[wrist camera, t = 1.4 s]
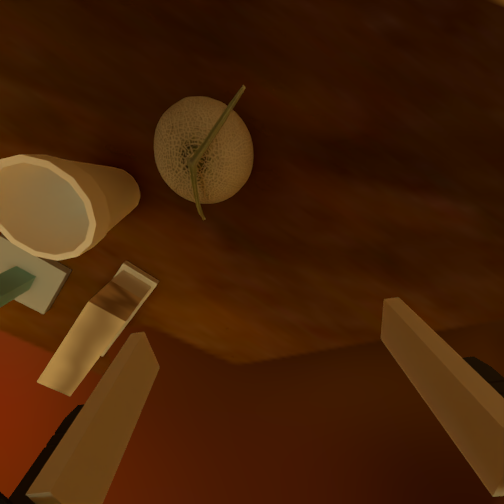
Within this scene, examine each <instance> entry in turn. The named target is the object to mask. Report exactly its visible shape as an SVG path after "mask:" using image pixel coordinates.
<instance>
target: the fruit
mask: <svg viewBox="0 0 504 504" xmlns="http://www.w3.org/2000/svg"><path fill="white" fill-rule="evenodd" d="M245 88H246V87H245V86H244V85H242V87H241V88H240V89H239V91H238V92H237V94H236V95H235V96H234V98H233V99H232V101H231V102H230V103H229V105H228V106H227V105H226V104H224V103H222V102H221V101H218V100H215V99H212V98H209V97H204V96H195V97H186V98H184V99H182V100H180V101H179V102H177V103H175V104H174V105H172V106H171V107H170V108H169V109H168V110H166V111H165V113H164V114H163V115H162V116H161V118H160V120H159V122H158V124H157V127H156V130H155V136H154V155H155V162H156V165H157V168H158V170H159V172H160V174H161V176H162V178H163V179H164V181H165V182H166V183H167V185H168V186H169V187H170V188H171V189H172V190H173V191H174V192H176V193H177V194H178V195H180V196H181V197H183V198H185V199H187V200H189V201H192V202H195V203H196V207H197V210H198V213H199V215H200V216H201V217H202V219H203V220H205V219H206V218H205V216H204V214H203V211H202V208H201V204H212V203H218V202H221V201H224V200H226V199H228V198H230V197H232V196H233V195H234V194H236V193H237V192H238V191H239V190H240V189H241V188H242V186H243V185H244V184H245V183H246V182H247V180H248V178H249V176H250V174H251V170H252V166H253V143H252V139H251V135H250V133H249V131H248V129H247V127H246V125H245V123H244V122H243V120H242V119H241V118H240V117H239V116H238V114H237V113H236V112H235V111H234V110H233V108H234V107H235V105H236V103H237V102H238V100H239V98H240V97H241V95H242V93H243V92H244V90H245ZM200 203H201V204H200Z"/></svg>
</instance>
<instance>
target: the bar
mask: <svg viewBox="0 0 504 504" xmlns="http://www.w3.org/2000/svg"><path fill="white" fill-rule="evenodd" d="M141 300H142V299H141V298H139V297H138V296H136V295H134V294H133V293H131V292H129V291H128V290H126V289H124V288H122V287H121V286H119V285H117V284H116V283H114V282H112V281H110V282H109V283H108V284H107V285H106V286H105V287H104V288H102V289H101V290H100V291H99V292H98V293H97V294H96V295H95V296H94V297H93V298H92V299H90V300H89V301H88V303H87V304H86V306H85V308H84V309H83V311H82V312H81V314H80V315H79V317H78V318H77V320H76V322H75V323H74V325H73V326H72V328H71V329H70V331H69V332H68V334H67V336H66V337H65V339H64V340H63V342H62V343H61V345H60V346H59V348H58V350H57V351H56V353H55V354H54V356H53V357H52V359H51V360H50V362H49V364H48V365H47V367H46V368H45V370H44V371H43V373H42V374H41V376H40V378H39V379H38V381H37V382H38V383H40V384H42V385H45V386H47V387H49V388H52V389H54V390H56V391H59V392H61V393H63V394H66V395H68V396H71V395H72V393H73V392H74V391H75V389H76V388H77V386H78V385H79V384H80V382H81V381H82V380H83V378H84V377H85V376H86V374H87V373H88V372H89V370H90V369H91V368H92V366H93V365H94V364H95V362H96V361H97V360H98V358H99V357H100V356H101V354H102V353H103V352H104V350H105V349H106V348H107V346H108V345H109V344H110V342H111V341H112V340H113V338H114V337H115V336H116V334H117V333H118V331H119V330H120V329H121V327H122V326H123V325H124V323H125V322H126V321H127V319H128V318H129V317H130V315H131V314H132V313H133V311H134V310H135V309H136V307H137V306H138V304H139V303H140V302H141Z"/></svg>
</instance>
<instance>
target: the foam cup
mask: <svg viewBox="0 0 504 504" xmlns="http://www.w3.org/2000/svg"><path fill="white" fill-rule="evenodd" d="M139 200H140V190H139V186H138V184H137V182H136V181H135V179H134V178H133V176H131V175H130V174H129V173H127V172H126V171H125V170H123V169H119V168H115V167H110V166H104V165H97V164H91V163H84V162H77V161H71V160H66V159H62V158H57V157H53V156H49V155H45V154H20V155H16V156H12V157H8V158H4V159H0V231H1V233H2V234H3V235H4V236H5V237H6V238H7V239H8V240H9V241H10V242H11V243H12V244H14V245H16V246H17V247H19V248H21V249H23V250H24V251H26V252H28V253H30V254H31V255H33V256H36V257H41V258H46V259H51V260H56V261H59V260H63V259H68V258H73V257H78V256H79V255H81V254H83V253H84V252H86V251H88V250H89V249H91V248H93V247H94V246H95V245H96V244H97V243H98V242H99V241H100V240H102V239H103V238H104V237H105V236H106V233H107V232H108V231H109V230H110V229H111V228H113V227H114V226H115V225H116V224H117V223H118V222H120V221H121V220H122V219H123V218H124V217H125V216H126V215H128V214H129V213H130V212H131V211H132V210H133V209H134V208H135V207H136V206H137V205H138V203H139Z"/></svg>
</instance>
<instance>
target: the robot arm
mask: <svg viewBox="0 0 504 504" xmlns="http://www.w3.org/2000/svg"><path fill="white" fill-rule="evenodd" d="M381 340H382V341H383V343H384V344H385V346H386V347H387V349H388V350H389V351H390V353H391V354H392V355H393V357H394V358H395V360H396V361H397V363H398V364H399V365H400V367H401V368H402V370H403V371H404V372H405V374H406V375H407V377H408V378H409V380H410V381H411V382H412V384H413V385H414V386H415V388H416V389H417V391H418V392H419V394H420V395H421V396H422V398H423V399H424V401H425V402H426V403H427V405H428V406H429V408H430V409H431V410H432V412H433V413H434V415H435V416H436V418H437V419H438V420H439V422H440V423H441V425H442V426H443V427H444V429H445V430H446V432H447V433H448V434H449V436H450V437H451V438H452V440H453V441H454V443H455V444H456V446H457V447H458V449H459V450H460V451H461V453H462V454H463V456H464V457H465V458H466V460H467V461H468V463H469V464H470V465H471V467H472V468H473V470H474V471H475V472H476V474H477V475H478V477H479V478H480V479H481V481H482V482H483V484H484V485H485V486H486V488H487V489H488V491H489V492H490V494H491V495H492V496H493V497H494V496H504V378H503V377H502V376H501V375H500V374H499V373H498V372H497V371H496V370H494V369H493V368H492V367H491V366H489V365H487V364H485V363H484V362H482V361H480V360H479V359H477V358H475V357H466V358H461V357H460V356H459V355H458V354H457V353H456V352H455V351H454V350H453V349H452V348H451V347H450V346H449V345H448V344H447V343H446V342H445V341H444V340H442V338H441V337H440V336H439V335H437V334H436V333H435V332H434V331H433V330H432V329H431V328H430V327H429V326H428V325H427V324H426V323H425V322H424V321H423V320H422V319H421V318H420V317H419V316H418V315H417V314H416V313H415V312H413V311H412V310H411V309H410V308H409V307H408V306H407V305H406V304H405V303H404V302H403V301H402V300H401V299H400V298H399V297H396V298H389V299H384V303H383V316H382V329H381ZM159 368H160V367H159V364H158V362H157V360H156V358H155V355H154V353H153V351H152V348H151V346H150V344H149V341H148V339H147V337H146V334H145V332H139V333H132V334H131V335H130V336H129V338H128V339H127V341H126V342H125V344H124V346H123V347H122V348H121V350H120V351H119V353H118V354H117V356H116V357H115V359H114V360H113V362H112V363H111V365H110V367H109V368H108V370H107V371H106V373H105V374H104V376H103V377H102V379H101V380H100V382H99V383H98V385H97V386H96V388H95V389H94V391H93V392H92V394H91V396H90V397H89V398H88V400H87V402H86V403H85V404H84V405H78V406H77V407H76V408H75V409H74V410H73V411H72V412H71V413H70V414H69V415H68V416H67V417H66V418H65V419H64V420H63V422H62V423H61V425H60V426H59V427H58V429H57V430H56V432H55V435H53V436H52V437H51V439H50V441H49V442H48V443H47V446H46V448H44V449H43V450H42V452H41V453H40V455H39V456H38V457H37V459H36V460H35V462H34V463H33V465H32V466H31V468H30V469H29V471H28V472H27V473H26V475H25V476H24V478H23V479H22V480H21V482H20V483H19V485H18V486H17V488H16V489H15V490H14V492H13V493H12V495H11V496H10V497H9V499H8V498H7V497H5V496H4V495H3V494H2V493H1V492H0V504H102V503H103V501H104V499H105V496H106V494H107V492H108V489H109V487H110V484H111V482H112V479H113V477H114V475H115V473H116V470H117V468H118V465H119V463H120V461H121V458H122V456H123V454H124V451H125V449H126V446H127V444H128V442H129V439H130V437H131V434H132V432H133V430H134V427H135V425H136V422H137V420H138V418H139V415H140V413H141V411H142V408H143V406H144V404H145V401H146V399H147V396H148V394H149V392H150V389H151V387H152V384H153V382H154V380H155V377H156V375H157V373H158V370H159Z"/></svg>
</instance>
